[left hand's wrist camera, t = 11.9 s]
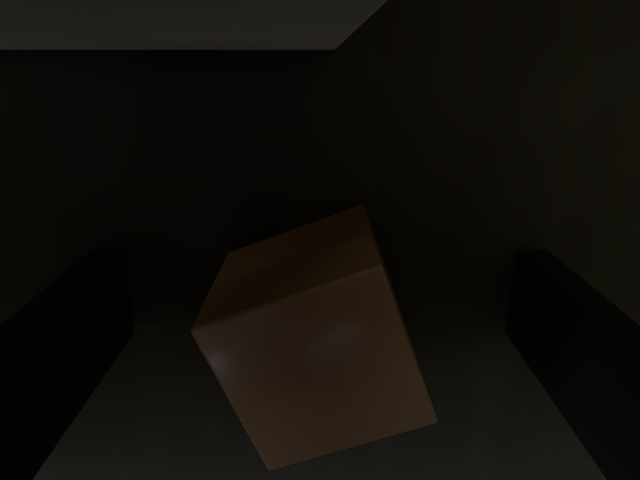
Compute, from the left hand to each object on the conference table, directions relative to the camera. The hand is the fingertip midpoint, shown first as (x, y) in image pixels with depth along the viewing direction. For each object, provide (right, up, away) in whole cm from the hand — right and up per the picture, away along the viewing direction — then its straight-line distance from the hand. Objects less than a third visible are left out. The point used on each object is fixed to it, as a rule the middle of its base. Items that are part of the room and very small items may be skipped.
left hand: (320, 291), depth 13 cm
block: (0, 0, 0) cm, 0 cm away
